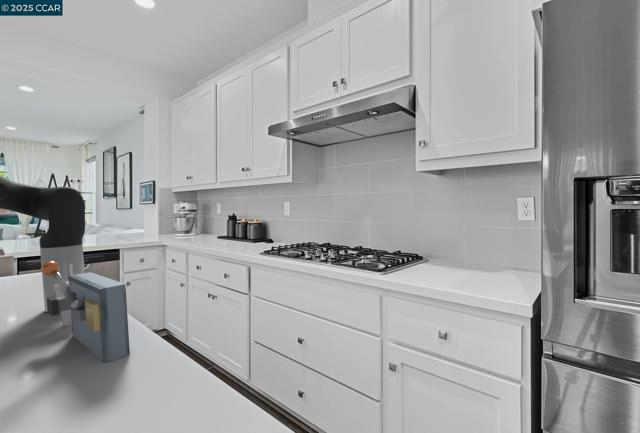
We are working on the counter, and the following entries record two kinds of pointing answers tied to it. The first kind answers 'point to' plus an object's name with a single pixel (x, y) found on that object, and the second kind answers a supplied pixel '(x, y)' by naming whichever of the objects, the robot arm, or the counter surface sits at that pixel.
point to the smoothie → (64, 314)
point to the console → (112, 311)
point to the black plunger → (57, 305)
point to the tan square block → (93, 315)
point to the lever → (61, 283)
